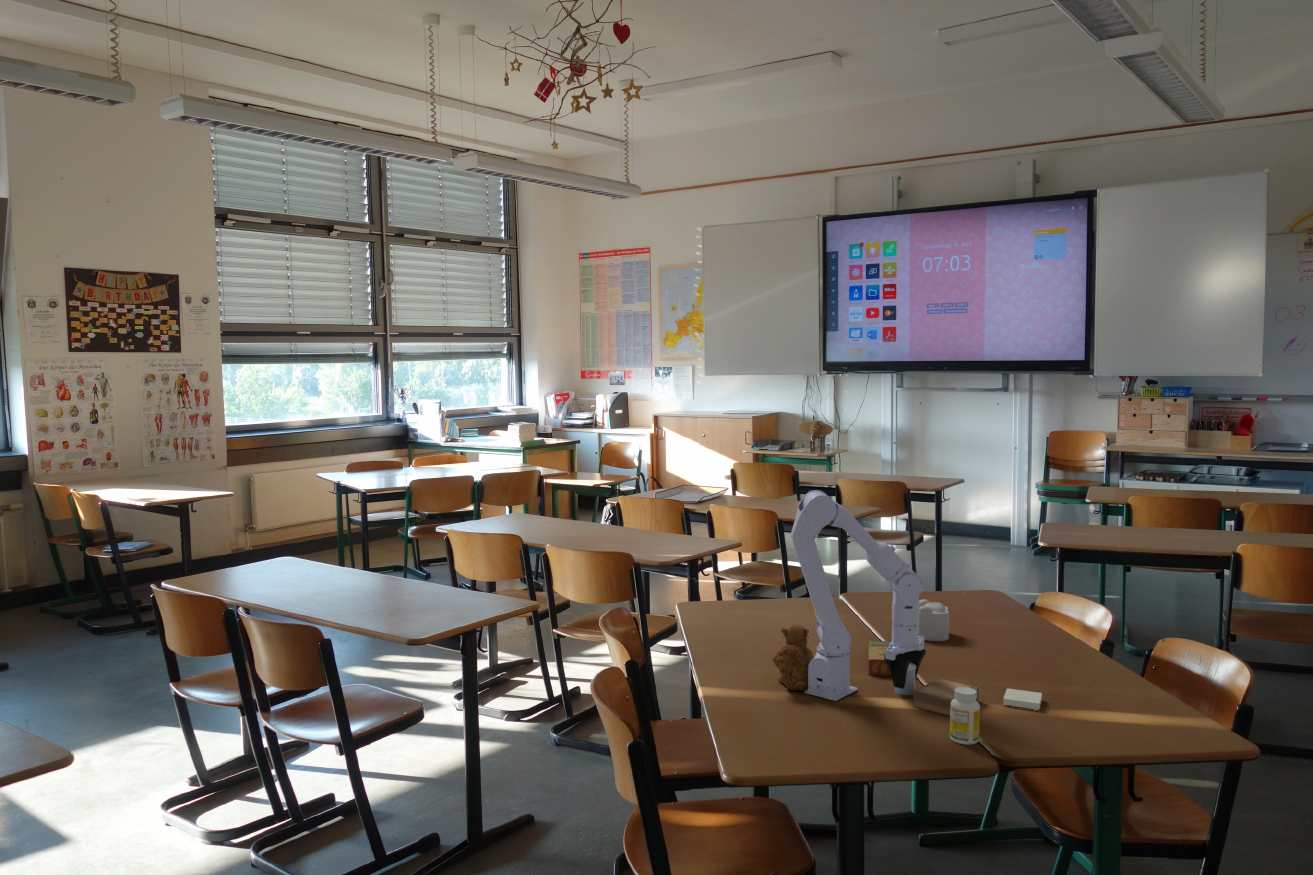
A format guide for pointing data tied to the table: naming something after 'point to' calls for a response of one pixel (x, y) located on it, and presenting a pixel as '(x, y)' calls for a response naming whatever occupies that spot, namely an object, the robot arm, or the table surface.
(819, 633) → the robot arm
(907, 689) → the cup
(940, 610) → the lumpy-topped squat cylinder
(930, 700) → the box
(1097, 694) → the table surface
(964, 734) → the supplement bottle
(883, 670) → the carton
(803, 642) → the brown teddy bear
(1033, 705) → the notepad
